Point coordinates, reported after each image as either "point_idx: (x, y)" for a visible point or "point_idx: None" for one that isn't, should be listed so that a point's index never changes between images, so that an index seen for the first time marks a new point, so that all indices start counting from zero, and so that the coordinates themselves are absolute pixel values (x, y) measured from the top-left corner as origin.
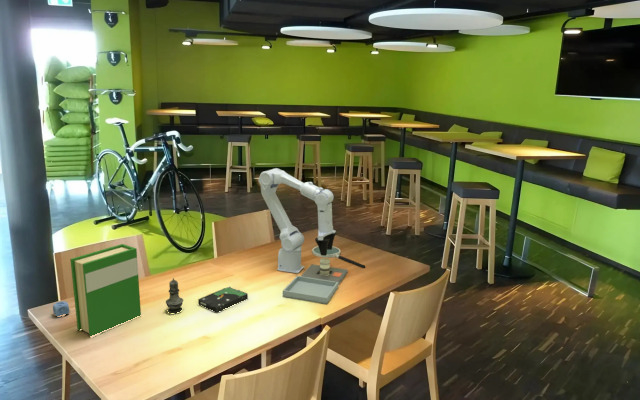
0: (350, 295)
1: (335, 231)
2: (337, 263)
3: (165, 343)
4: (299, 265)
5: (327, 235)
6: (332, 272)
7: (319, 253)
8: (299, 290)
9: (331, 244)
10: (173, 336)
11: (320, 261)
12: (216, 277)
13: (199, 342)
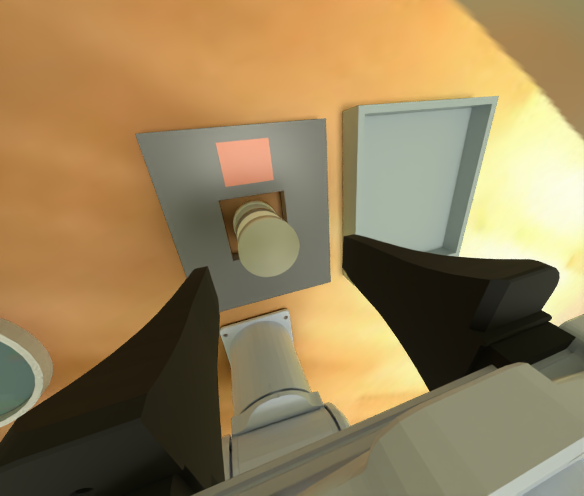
0: (392, 20)
1: (461, 439)
2: (51, 246)
3: (573, 291)
4: (267, 332)
5: (205, 435)
6: (235, 195)
7: (17, 377)
8: (410, 229)
9: (201, 295)
10: (560, 296)
11: (292, 262)
12: (381, 404)
13: (580, 259)
